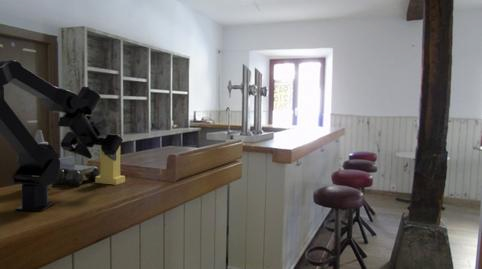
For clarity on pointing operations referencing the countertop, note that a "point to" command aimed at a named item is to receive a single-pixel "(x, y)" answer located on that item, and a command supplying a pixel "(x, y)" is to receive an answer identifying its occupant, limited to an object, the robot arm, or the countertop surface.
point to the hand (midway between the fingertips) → (103, 158)
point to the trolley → (75, 172)
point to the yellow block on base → (109, 169)
